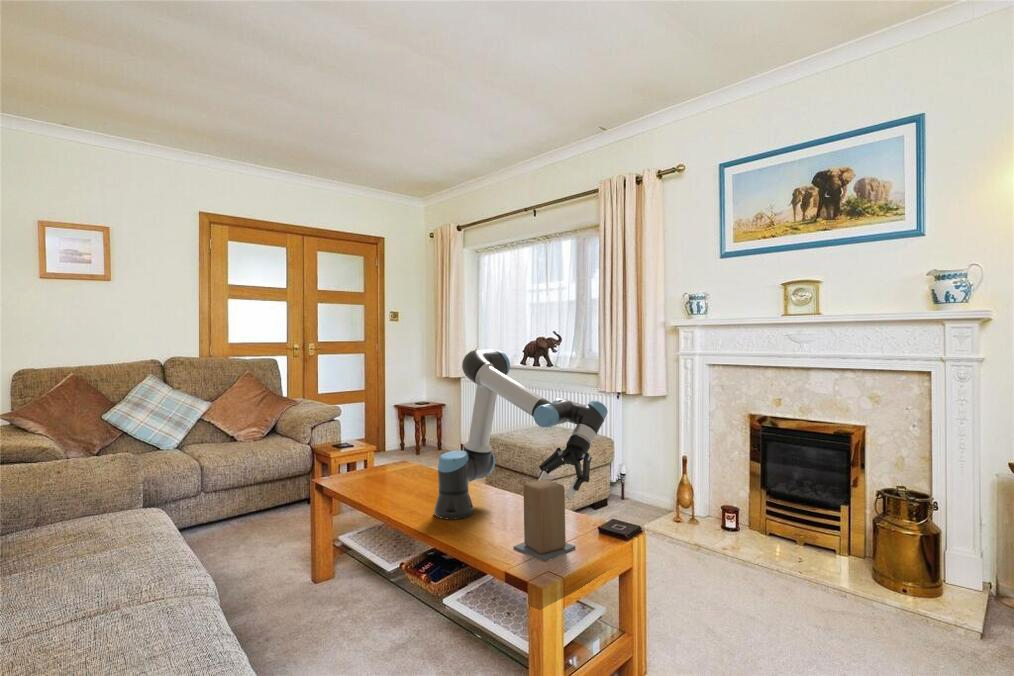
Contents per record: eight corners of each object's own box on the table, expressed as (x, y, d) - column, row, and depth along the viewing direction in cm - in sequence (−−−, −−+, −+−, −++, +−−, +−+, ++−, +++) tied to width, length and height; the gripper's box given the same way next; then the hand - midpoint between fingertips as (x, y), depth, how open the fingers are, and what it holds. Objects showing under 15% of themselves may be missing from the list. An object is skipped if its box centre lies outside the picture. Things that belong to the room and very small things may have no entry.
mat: (513, 548, 163) (513, 546, 163) (543, 537, 173) (543, 534, 173) (545, 561, 153) (545, 559, 153) (575, 548, 162) (575, 546, 162)
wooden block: (523, 545, 164) (522, 482, 164) (548, 538, 169) (547, 478, 169) (540, 555, 155) (539, 489, 156) (566, 548, 160) (565, 484, 161)
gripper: (615, 452, 168) (588, 508, 157) (558, 442, 186) (530, 492, 176) (605, 438, 164) (576, 495, 154) (548, 429, 182) (519, 480, 172)
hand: (552, 493), depth 165 cm, fingers open, 13 cm apart
